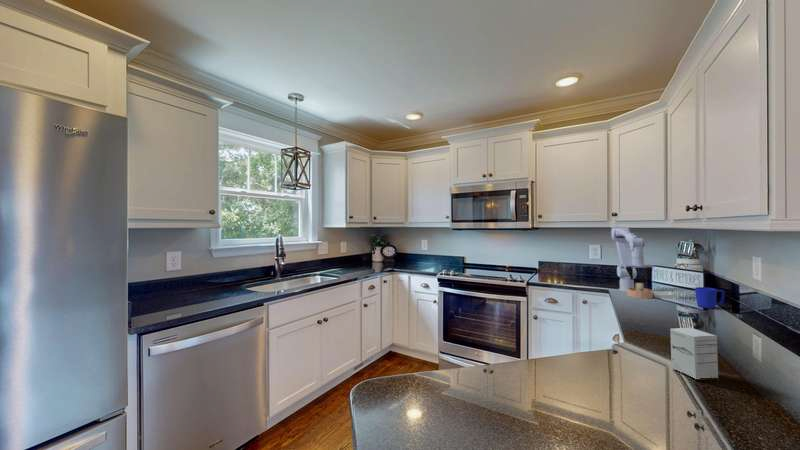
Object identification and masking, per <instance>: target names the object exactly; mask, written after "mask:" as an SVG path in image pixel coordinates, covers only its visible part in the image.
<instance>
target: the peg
mask: <svg viewBox="0 0 800 450" xmlns="http://www.w3.org/2000/svg"><path fill="white" fill-rule="evenodd" d="M644 285H645V284H644V282H634V286H635V288H636V291H644V288H645V286H644Z"/></svg>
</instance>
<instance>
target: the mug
mask: <svg viewBox="0 0 800 450" xmlns="http://www.w3.org/2000/svg"><path fill="white" fill-rule="evenodd" d="M694 292H695V293H694V294H695V297H696V304H697V307H699V308H701V309H708V310H710V309H711V310H713V309H715V308H716V307H717V306H720V305H722V304H723V303H724V301H725V290H722V289H717V288H713V287H703V286H702V287H701V286H695V287H694ZM719 292H721V297H720V301H719V302H718V303H717V294H718V293H719Z"/></svg>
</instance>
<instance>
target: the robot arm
mask: <svg viewBox="0 0 800 450" xmlns="http://www.w3.org/2000/svg"><path fill="white" fill-rule="evenodd" d="M610 231H611V232H610V235H611V238H612V241H614V242H615V246H616V250H617V255H618V258H619V262H620V264H618V265H617V267H616V275H617V277H619V278H620V279H619V288H618V290H619V291H621V292H626V293H627V288H635V281H634V279H636V277H637V275H638V272H637V270H636V269H643V270H644V276H645V281H649V278H650V275H651V273H652V270H653V269H654V264H645V260H644V259H645V258H644V247H645V240H644V238H643V237H640V238H639V237H638V236H637V235H636V234H635V233H633V232H632V233H631V229H630V227H627V226H626V227H612V228H611V230H610ZM625 242H628V245H629V249H630V252H631V261H632V262H631V263H630V260H629V256H628V251H627V247H626V244H625Z"/></svg>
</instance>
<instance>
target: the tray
mask: <svg viewBox="0 0 800 450" xmlns="http://www.w3.org/2000/svg"><path fill="white" fill-rule="evenodd" d="M653 298H657V299H660V298H661V299H678V300H679V299H680V298H681V297H680V295H679V294H676V293H674V292H673V291H667V290H666V291H665V290H653Z"/></svg>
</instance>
